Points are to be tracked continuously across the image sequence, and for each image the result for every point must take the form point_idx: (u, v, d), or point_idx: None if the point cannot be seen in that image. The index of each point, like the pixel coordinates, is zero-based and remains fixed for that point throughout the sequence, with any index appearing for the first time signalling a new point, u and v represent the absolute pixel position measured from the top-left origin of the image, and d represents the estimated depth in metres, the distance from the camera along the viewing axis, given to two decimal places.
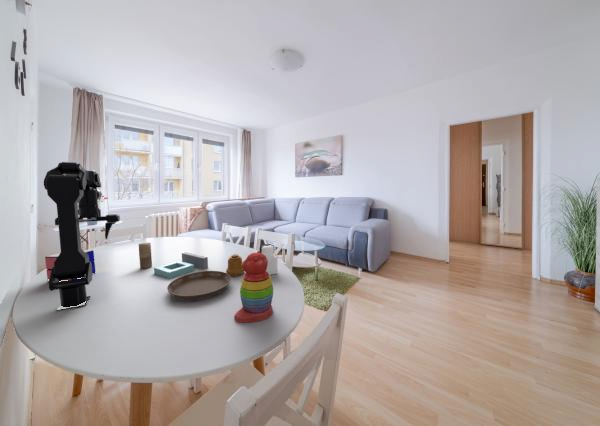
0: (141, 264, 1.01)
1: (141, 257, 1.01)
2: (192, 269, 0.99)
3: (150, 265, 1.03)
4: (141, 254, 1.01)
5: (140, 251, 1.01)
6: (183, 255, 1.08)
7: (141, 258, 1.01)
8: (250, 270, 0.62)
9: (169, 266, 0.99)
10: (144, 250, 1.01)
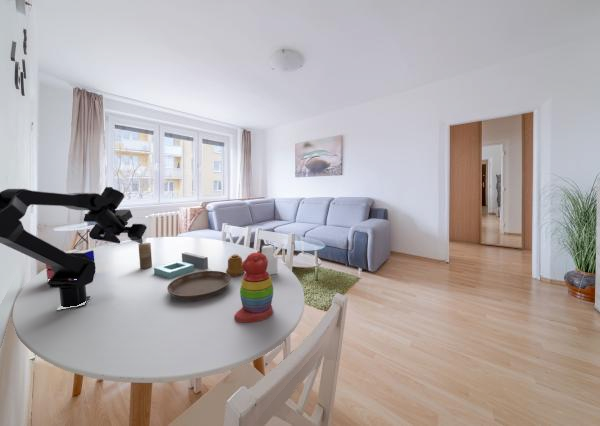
0: (141, 264, 1.01)
1: (141, 257, 1.01)
2: (192, 269, 0.99)
3: (150, 265, 1.03)
4: (141, 254, 1.01)
5: (140, 251, 1.01)
6: (183, 255, 1.08)
7: (141, 258, 1.01)
8: (250, 270, 0.62)
9: (169, 266, 0.99)
10: (144, 250, 1.01)
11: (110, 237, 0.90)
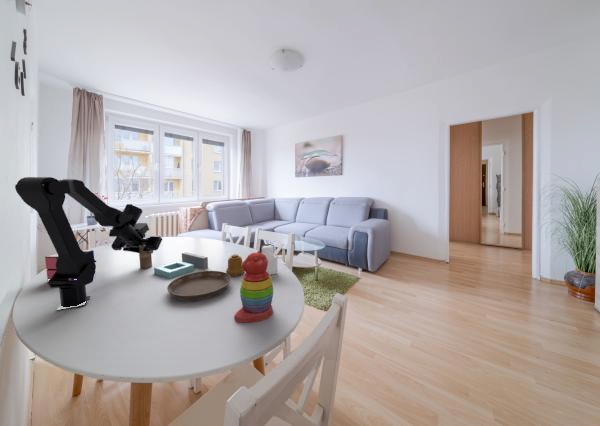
0: (141, 264, 1.01)
1: (141, 257, 1.01)
2: (192, 269, 0.99)
3: (150, 265, 1.03)
4: (141, 254, 1.01)
5: (140, 251, 1.01)
6: (183, 255, 1.08)
7: (141, 258, 1.01)
8: (250, 270, 0.62)
9: (169, 266, 0.99)
10: None
11: (134, 248, 1.00)
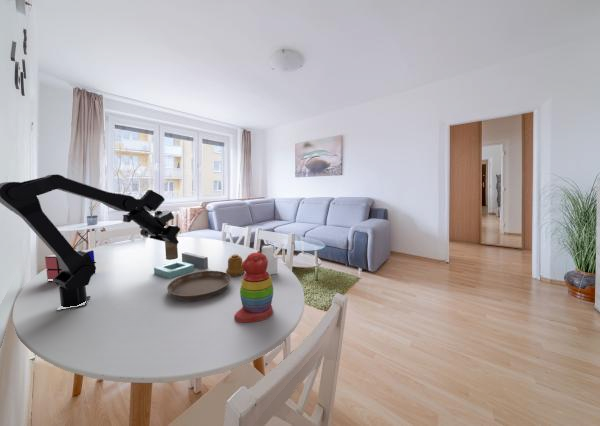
0: (166, 254, 0.96)
1: (165, 247, 0.96)
2: (192, 269, 0.99)
3: (174, 256, 0.97)
4: (165, 243, 0.96)
5: None
6: (183, 255, 1.08)
7: (165, 248, 0.96)
8: (250, 270, 0.62)
9: (169, 266, 0.99)
10: None
11: (160, 236, 0.96)
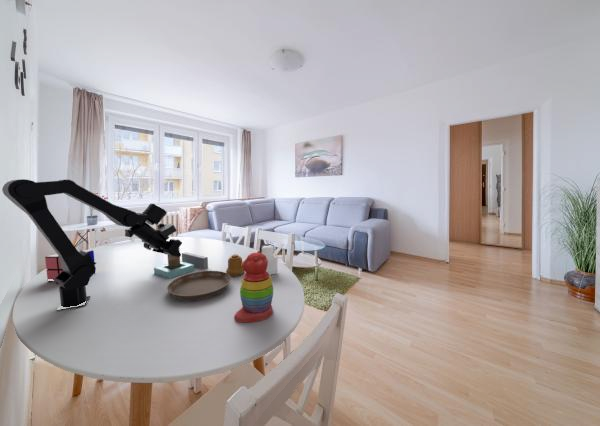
0: (168, 266, 0.96)
1: (168, 259, 0.96)
2: (192, 269, 0.99)
3: None
4: (168, 256, 0.96)
5: None
6: (183, 255, 1.08)
7: (168, 261, 0.96)
8: (250, 270, 0.62)
9: None
10: None
11: None
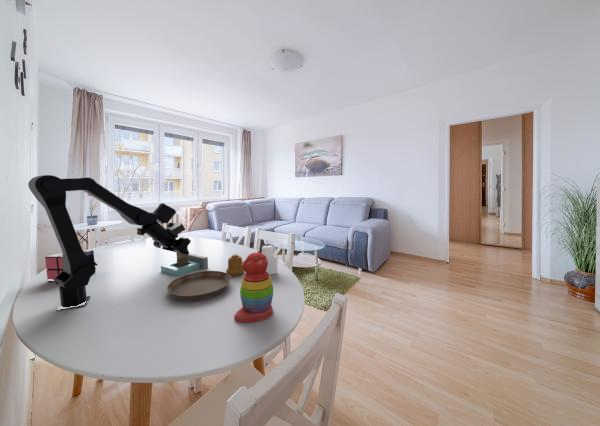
0: (177, 264, 0.99)
1: (177, 257, 0.99)
2: (198, 267, 1.02)
3: None
4: (177, 254, 0.99)
5: None
6: None
7: (177, 258, 0.99)
8: (250, 270, 0.62)
9: (175, 264, 1.02)
10: None
11: (172, 247, 1.00)
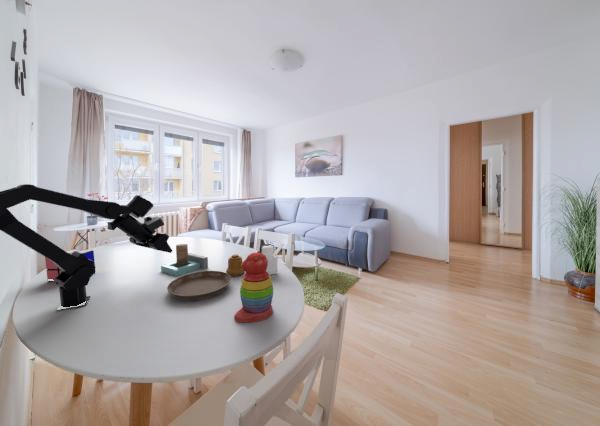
0: (177, 265, 0.99)
1: (177, 258, 0.99)
2: (198, 267, 1.02)
3: None
4: (177, 255, 0.99)
5: (176, 252, 0.99)
6: None
7: (177, 259, 0.99)
8: (250, 270, 0.62)
9: (175, 264, 1.02)
10: (179, 252, 0.98)
11: (147, 243, 0.93)
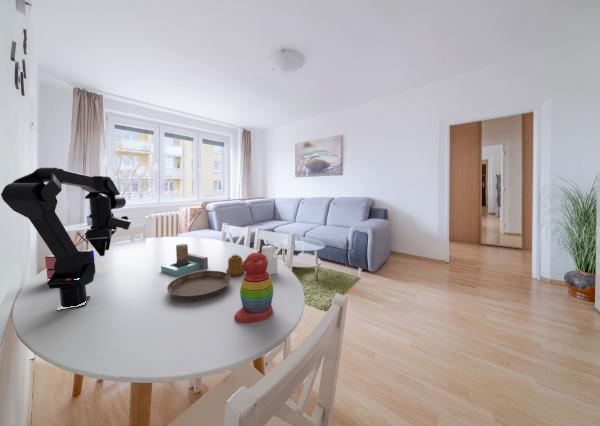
0: (177, 265, 0.99)
1: (177, 258, 0.99)
2: (198, 267, 1.02)
3: None
4: (177, 255, 0.99)
5: (176, 252, 0.99)
6: None
7: (177, 259, 0.99)
8: (250, 270, 0.62)
9: (175, 264, 1.02)
10: (179, 252, 0.98)
11: None
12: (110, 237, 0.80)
